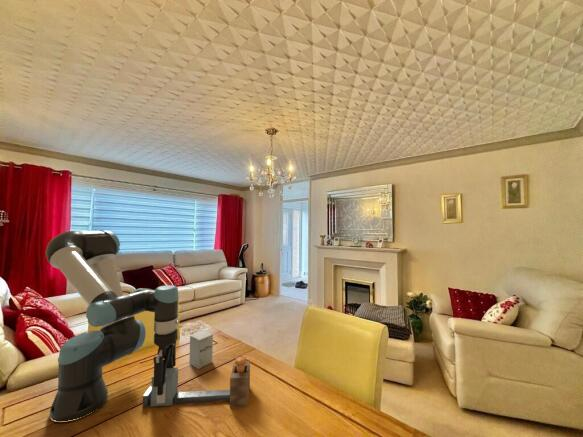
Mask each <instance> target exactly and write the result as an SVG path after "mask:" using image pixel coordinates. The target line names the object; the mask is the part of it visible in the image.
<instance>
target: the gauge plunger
mask: <svg viewBox="0 0 583 437" xmlns="http://www.w3.org/2000/svg"><path fill="white" fill-rule="evenodd" d="M234 362H235V363H236V364H237V373H245V363H246V362H247V358H246V357H245V356H238V357H236V358H235V361H234Z"/></svg>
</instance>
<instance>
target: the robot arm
mask: <svg viewBox="0 0 583 437" xmlns="http://www.w3.org/2000/svg"><path fill="white" fill-rule="evenodd" d="M120 247H121V242H120V239H119V237H118V236H117V234H116V233H114V232H113V231H110V230H102V229H101V230H68V231H65V232H61V233H59V234H57V235H56V236H54V237H53V238H51V240H50V241H49V242H48V244H47V246H46V249H45V257H46V259H47V262H48V263H49V264H50V265H51V266H52V267H53V268H55V269H59V270H60V272H61V273H62V274H63V275H64V276H65V279H67V281H68V282H69V284H71V286H72V287H73V288H74V289H75V290H76V292H77V293H78V295H80V297H81V299H82V300H84V302H85V303H86V304H87V306H88V307H87V308H86V311H85V312H86V313H85V317H86V319H87V322H88V325H89V326H92V327H94V328H97V327H100V326H101V327H100V328H99V330H90V331H88V332H82V333H80V334H77V335H75V336H73V337H71V338H69V339H68V340H66V341H65V342H63V344H62V345H61V346H60V349H59V353H58V354H59V355H58V358H57V361H58V370H57V371H58V373H57V374H58V375H57V376H58V377H57V379H58V380H57V382H58V383H57V392H56V395H55V396H54V400H53V402H52V403H51V404H52V405H51V406H50V410H49V418H50V417H51V418H52V419H53V420H56V421H68V420H73V419H77V418H80V417H83V416H85V415H87V414H89V413H91V412H93V411H95V410H96V409H98V408H99V409H101V407H103V406H104V405H105V403H106V402H107V401H106V400H108V399H109V398H108V397H109V395H108V394H109V390H108V387H107V385H106V383H105V380H104V378H103V368H105V366H107V365H110V364H111V363H114V362H116V361H118V360H120V359H123V358H124V357H126V356H129V355H131V354H133V353H134V352H136V351H137V350H140V348H142V347H143V345H144V343H145V339H146V334H147V332H146V327H145V325H144V322H142V321H141V320H138V319H136V318H135V315H138V314H141V313H144V312H150V313H154V320H153V323H154V324H153V325H154V326H153V331H154V333H153V343H154V345H155V346H157V347H158V349H157V356H154V357H153V375H154V383H153V387H157V403H156V404H158V403H165V402H166V382H165V375H166V368H175V367H176V363H177V362H176V361H177V360H176V358H177V357H176V356H177V355H176V353H177V352H176V346H177V340H178V336H179V335H178V334H179V333H178V332H179V331H178V327H179V326H178V324H179V323H180V320H178V318H179V299H180V298H179V297H180V296H179V289H178V287H177V286H176V285H173V284H172V285H169V284H167V285H160V286H158V287H156V288H155V289H152V288H147V287H144V288H143V287H142V288H141V287H140V288H137V289H135V290H134V291H132V292H131V293H127V294H124V293H123V289H122V285H121V282H120V278H119V275H118V270H117V268H116V265H115V264H116V263H115V260H116V259H117V257H118V254H119V252H120V250H121V248H120ZM99 409H98V410H99ZM96 411H97V410H96ZM96 411H95V412H96ZM93 413H94V412H93ZM91 414H92V413H91ZM83 418H84V417H83Z"/></svg>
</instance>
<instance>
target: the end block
mask: <svg viewBox="0 0 583 437" xmlns="http://www.w3.org/2000/svg"><path fill="white" fill-rule="evenodd" d="M232 365H233V366H232V369H231V373H230V377H229V389H230V401H229V408H230V409H232V408H233V409H234V408H247V407H248V405H249V398H250V397H249V396H250V391H251V390H250V389H251V388H250V387H251V361H248V360H246V363H245V373H237V364H236V363H235V361H234V363H233V364H232Z"/></svg>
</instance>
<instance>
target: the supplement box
mask: <svg viewBox="0 0 583 437" xmlns="http://www.w3.org/2000/svg"><path fill="white" fill-rule="evenodd" d="M213 336H214V334H212V333H211V332H208V331H206V330H202V331H199V332H196V333H195V334H191V335H190V336H189V365H191V366H193V367H194V368H196V369H197V370H199V369H201V368H203V367H204V366H207V365H208V364H211V363H213V347H214V346H213V344H214V343H213V339H214V338H213Z"/></svg>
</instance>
